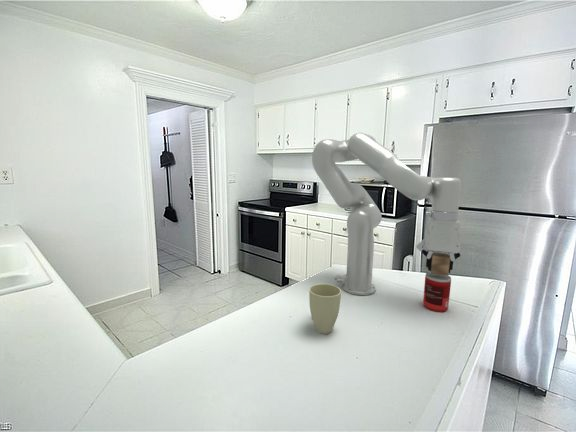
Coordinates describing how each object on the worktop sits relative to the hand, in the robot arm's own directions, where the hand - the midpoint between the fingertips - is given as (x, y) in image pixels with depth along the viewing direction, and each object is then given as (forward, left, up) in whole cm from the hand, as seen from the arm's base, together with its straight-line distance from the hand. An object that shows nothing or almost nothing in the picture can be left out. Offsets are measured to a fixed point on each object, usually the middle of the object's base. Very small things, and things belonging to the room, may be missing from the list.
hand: (438, 270), depth 96 cm
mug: (-33, -26, -13) cm, 44 cm away
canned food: (0, 0, -13) cm, 13 cm away
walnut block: (0, 0, -1) cm, 1 cm away
